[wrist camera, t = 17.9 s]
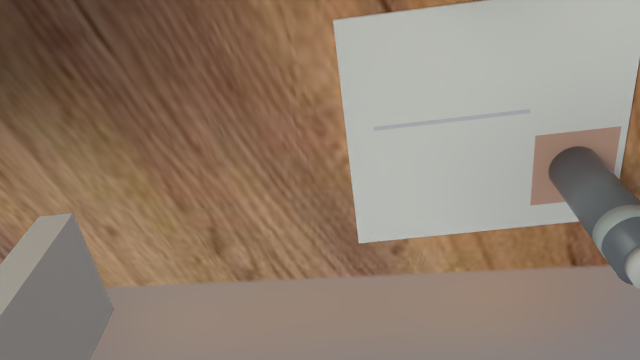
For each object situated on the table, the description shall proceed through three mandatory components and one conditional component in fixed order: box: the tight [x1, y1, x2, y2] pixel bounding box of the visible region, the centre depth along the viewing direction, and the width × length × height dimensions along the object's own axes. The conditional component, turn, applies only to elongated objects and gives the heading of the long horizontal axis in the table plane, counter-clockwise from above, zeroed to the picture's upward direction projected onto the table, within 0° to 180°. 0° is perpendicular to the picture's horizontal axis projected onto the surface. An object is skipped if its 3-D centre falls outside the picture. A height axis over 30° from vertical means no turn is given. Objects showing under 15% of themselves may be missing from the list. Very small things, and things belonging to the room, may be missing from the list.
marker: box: [549, 146, 640, 290], centre depth 36 cm, size 4×4×12 cm
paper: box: [333, 0, 640, 243], centre depth 39 cm, size 20×18×1 cm
